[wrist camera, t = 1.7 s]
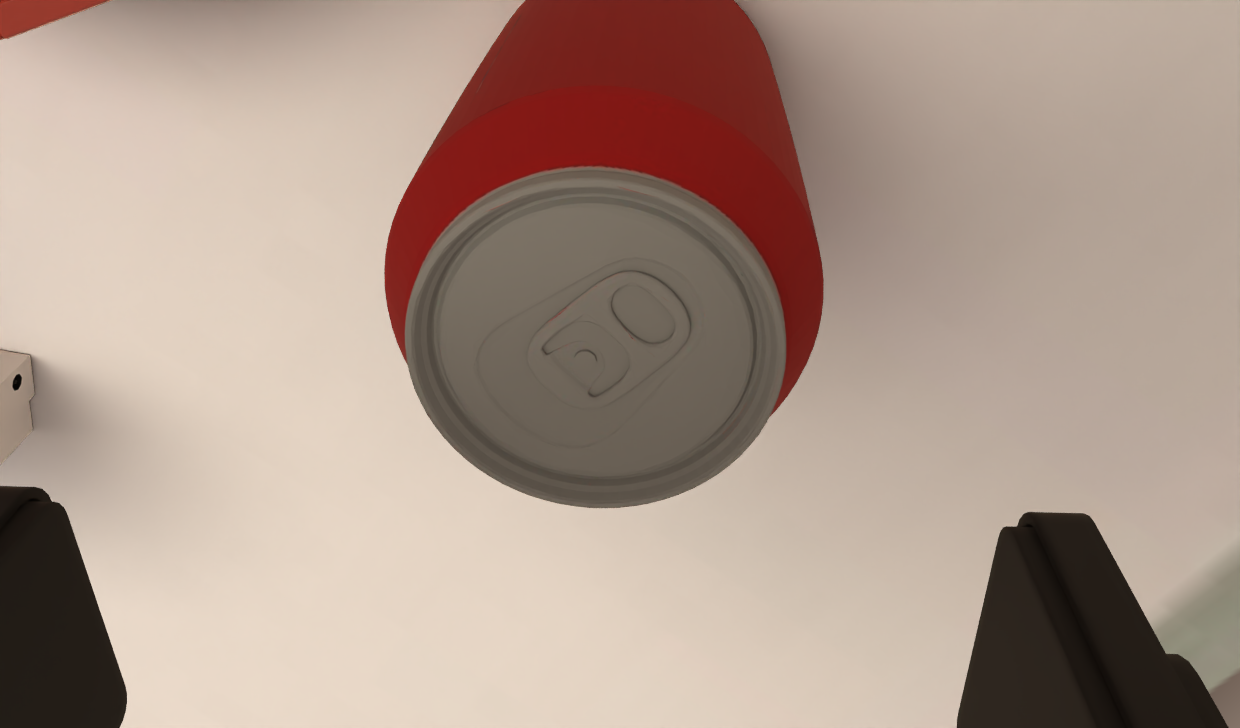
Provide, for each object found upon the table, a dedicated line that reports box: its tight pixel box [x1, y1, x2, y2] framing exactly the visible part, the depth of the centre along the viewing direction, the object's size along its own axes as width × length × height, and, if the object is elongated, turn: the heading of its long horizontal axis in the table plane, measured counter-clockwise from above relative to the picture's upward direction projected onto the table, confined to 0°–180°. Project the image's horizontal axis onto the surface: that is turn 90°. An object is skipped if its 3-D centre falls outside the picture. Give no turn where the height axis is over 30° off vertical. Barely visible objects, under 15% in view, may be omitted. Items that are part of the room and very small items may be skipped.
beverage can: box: [384, 0, 823, 508], centre depth 20 cm, size 7×7×12 cm
